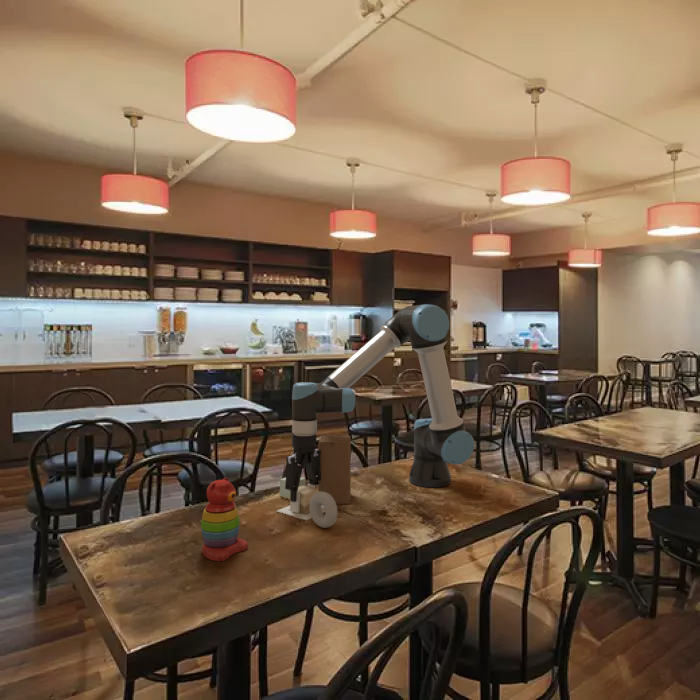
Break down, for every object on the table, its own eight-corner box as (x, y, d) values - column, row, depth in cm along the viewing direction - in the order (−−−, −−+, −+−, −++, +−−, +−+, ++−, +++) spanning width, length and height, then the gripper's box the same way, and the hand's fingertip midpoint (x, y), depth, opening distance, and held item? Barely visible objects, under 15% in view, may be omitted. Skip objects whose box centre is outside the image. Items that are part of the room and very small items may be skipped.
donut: (340, 530, 144) (340, 494, 144) (331, 533, 142) (331, 497, 141) (315, 520, 151) (315, 486, 151) (306, 524, 149) (306, 489, 148)
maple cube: (317, 508, 160) (317, 489, 160) (305, 514, 155) (304, 494, 155) (303, 504, 164) (303, 485, 164) (290, 509, 159) (290, 490, 159)
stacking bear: (220, 563, 124) (219, 489, 123) (190, 553, 129) (190, 482, 128) (251, 547, 133) (251, 478, 132) (223, 538, 138) (222, 472, 137)
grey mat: (332, 509, 161) (332, 507, 161) (306, 520, 151) (306, 519, 151) (302, 501, 168) (302, 500, 168) (276, 512, 158) (276, 510, 158)
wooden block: (349, 504, 165) (350, 441, 164) (318, 504, 166) (318, 441, 165) (350, 494, 175) (350, 435, 174) (320, 494, 176) (320, 435, 175)
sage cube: (305, 495, 174) (305, 478, 174) (293, 500, 169) (293, 482, 169) (292, 492, 177) (292, 475, 177) (279, 497, 173) (279, 479, 172)
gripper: (315, 427, 169) (314, 498, 169) (272, 436, 153) (271, 514, 154) (333, 430, 164) (332, 502, 165) (291, 440, 148) (290, 520, 149)
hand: (303, 508), depth 159 cm, fingers open, 7 cm apart
